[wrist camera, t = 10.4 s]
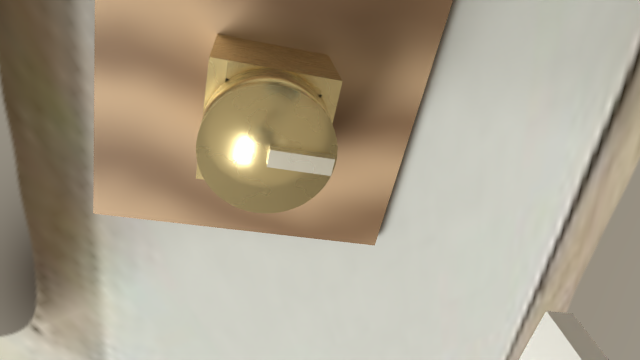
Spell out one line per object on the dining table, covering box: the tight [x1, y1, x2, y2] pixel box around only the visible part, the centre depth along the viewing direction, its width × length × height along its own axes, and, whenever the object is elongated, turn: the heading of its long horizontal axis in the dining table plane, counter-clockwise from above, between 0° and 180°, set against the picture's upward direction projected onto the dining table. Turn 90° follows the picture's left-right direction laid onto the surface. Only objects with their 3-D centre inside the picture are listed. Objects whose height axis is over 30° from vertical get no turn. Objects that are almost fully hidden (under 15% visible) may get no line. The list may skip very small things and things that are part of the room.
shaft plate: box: [93, 0, 453, 245], centre depth 26 cm, size 18×18×5 cm
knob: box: [196, 34, 343, 213], centre depth 24 cm, size 6×6×8 cm
